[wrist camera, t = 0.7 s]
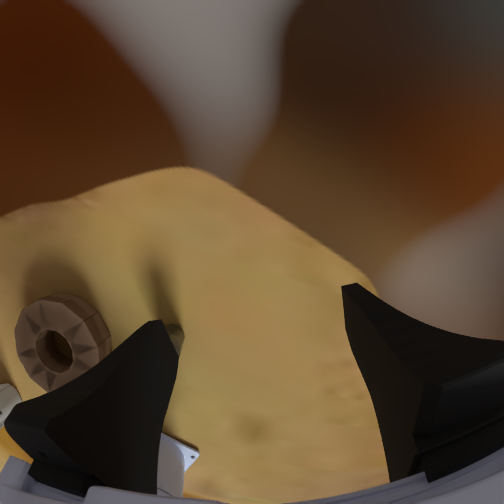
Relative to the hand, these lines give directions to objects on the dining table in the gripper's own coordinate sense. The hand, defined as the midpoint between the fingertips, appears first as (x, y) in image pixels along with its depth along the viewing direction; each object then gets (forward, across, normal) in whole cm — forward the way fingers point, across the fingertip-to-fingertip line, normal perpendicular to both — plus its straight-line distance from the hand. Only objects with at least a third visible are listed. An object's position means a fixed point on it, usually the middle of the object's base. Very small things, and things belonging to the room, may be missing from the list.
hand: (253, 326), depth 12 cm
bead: (+12, +22, +7) cm, 26 cm away
